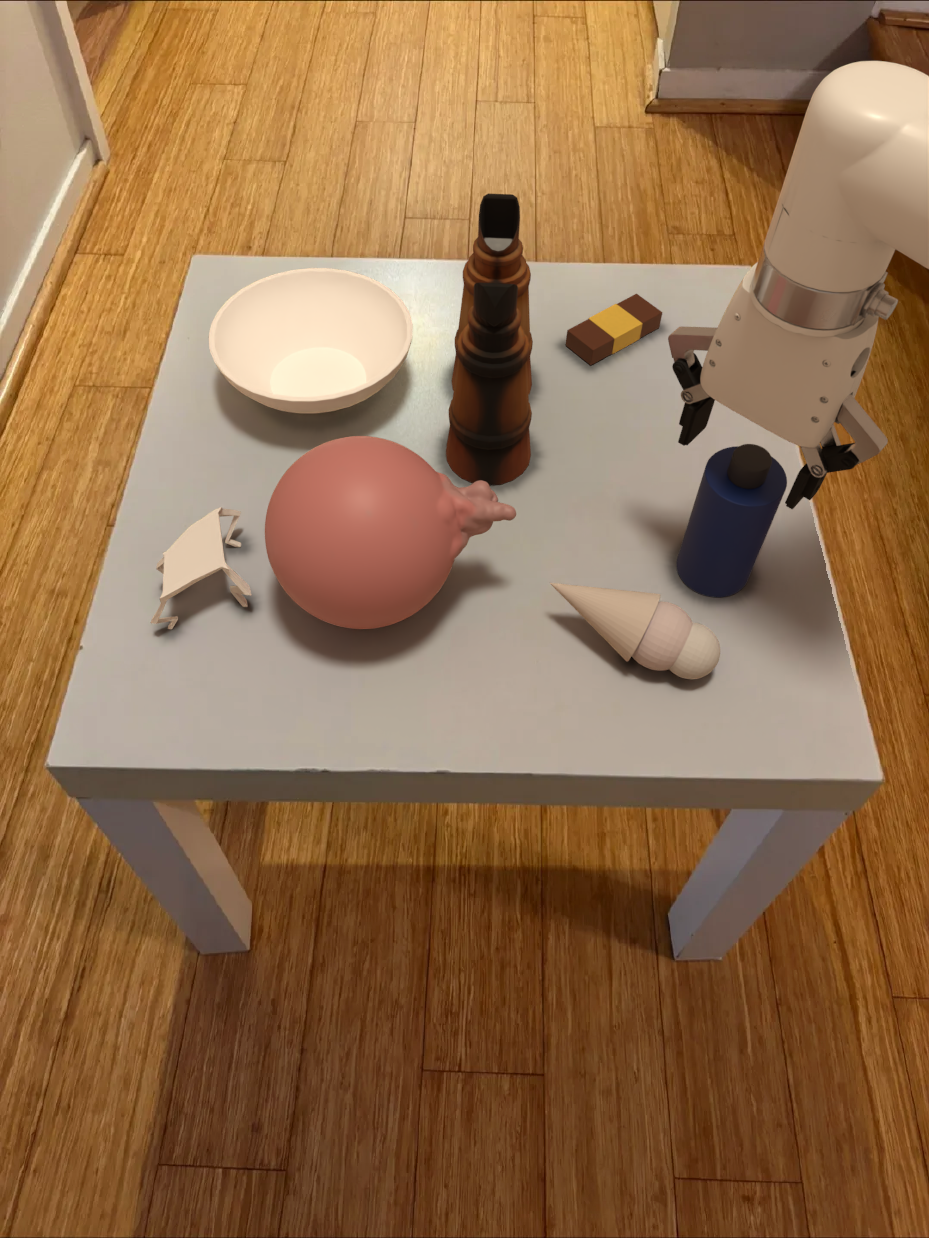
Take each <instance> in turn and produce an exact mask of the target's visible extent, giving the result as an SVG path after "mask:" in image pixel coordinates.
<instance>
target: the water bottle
mask: <svg viewBox="0 0 929 1238" xmlns="http://www.w3.org/2000/svg"><path fill="white" fill-rule="evenodd" d="M787 487H788V478H787V474H786V471H785V469H784V468H783V465H781V464H780V462H779V461H778V460H777V459H775V458H774V457H773V456H772V454H771V453H770V452H769V451H768V450H767V449H766V448H764V447H763V446H761V445H758V444H754V443H744V444H741V445H737V446H729V447H725V448H722V449H720V450H718V451H716V452H715V453H713V454H712V455H711V456H710V457H709V458H708V460H707V462H706V464H705V467H704V470H703V473H702V477H701V480H700V483H699V486H698V490H697V492H696V496H695V500H694V503H693V505H692V509H691V512H690V515H689V518H688V521H687V525H686V528H685V531H684V534H683V539H682V541H681V544H680V548H679V551H678V553H677V557H676V561H675V562H676V563H675V564H676V566H675V567H676V571H677V574H678V576H679V578H680V579H681V581H682V582H683V583H684V585H685V586H686V587H688V588H689V589H690V590H692V591H694V592H695V593H697V594H699V595H702V596H705V597H710V598H726V597H731V596H733V595H736V594H737V593H739V592H740V591H742V589H743V588H744V587H745V586H746V585H747V583H748V581H749V579H750V576H751V574H752V571H753V569H754V566H755V564H756V561H757V560H758V557H759V554H760V552H761V550H762V547H763V544H764V543H765V541H766V537H767V535H768V533H769V530H770V528H771V526H772V524H773V521H774V518H775V517H776V514H777V511H778V509H779V507H780V504H781V502H782V499H783V497H784V495H785V492H786V489H787Z"/></svg>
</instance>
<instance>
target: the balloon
mask: <svg viewBox="0 0 929 1238" xmlns="http://www.w3.org/2000/svg"><path fill="white" fill-rule="evenodd" d="M490 486H491V485H489V484H488V483H487V482H485V481H482V480H479V481H476V482H474V483H471V484H470V485H468V486H460V487H459V486H456V485H455V484H453V482H452V481H451V479H450V478H449V476H447V475H446V474H444V473H442V472H438V471H436V470H435V469H434V467H432V465H431V464H430V463H429V462H428V461H426V460H425V459H424V458H422V456H420V455H419V454H418V453H417V452H415V451H414V450H412V449H410V448H408V447H407V446H404V445H402V444H400V443H398V442H395V441H392V440H389V439H387V438H381V437H376V436H371V435H353V436H344V437H340V438H335V439H332V440H329V441H326V442H323V443H321V444H319V445H317V446H315V447H313V448H311V449H309V450H308V451H307V452H305V453H303V454H302V455H301V456H300V457H299V458H298V459H296V460H295V461H294V462H293V463H292V464H291V465H290V466H289V467H288V468H287V470H286V471H284V474H283V475H282V476H281V477H280V478H279V480H278V482H277V484H276V485H275V488H274V489H273V491H272V494H271V496H270V500H269V501H268V505H267V509H266V514H265V520H264V521H265V522H264V544H265V550H266V554H267V558H268V561H269V564H270V567H271V569H272V572H273V574H274V576H275V578H276V579H277V582H278V583H279V585H280V586H281V587H282V589H283V590H284V592H285V593H286V594H287V596H289V597H290V599H291V600H292V601H293V602H294V603H295V604H296V605H298V606H299V607H300V608H301V609H303V610H304V611H305V612H307V613H308V614H310V615H311V616H313V617H315V618H316V619H319V620H320V621H322V622H325V623H328V624H331V625H334V626H336V627H340V628H346V629H353V630H372V629H379V628H384V627H388V626H391V625H394V624H397V623H399V622H402V621H404V620H406V619H408V618H410V617H411V616H413V615H415V614H417V613H418V612H419V611H420V610H422V609H423V608H424V607H425V606H427V605H428V604H429V603H430V602H431V601H432V600H433V599H434V597H435V596H436V595H437V594H438V593H439V592H440V590H441V589H442V587H443V586H444V584H445V582H446V581H447V579H448V577H449V575H450V573H451V570H452V569H453V565H454V562H455V559H456V558H458V556H460V554H461V553H462V551H463V550H464V549H465V548H466V546H467V545H468V543H469V540H470V538H472V537H474V536H478V535H483V534H485V533H487V532H488V531H490V529H491V528H492V527H493V524H494V522H502V521H513V520H514V519H515V518H516V517H517V511H516V508H515V507H514V506H512V505H510V504H507V503H505V502H501V501H499V498H498V496H497V494H496V492H495V491H494V490H493V489H492V488H491V487H490Z"/></svg>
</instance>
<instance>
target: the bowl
mask: <svg viewBox="0 0 929 1238" xmlns="http://www.w3.org/2000/svg"><path fill="white" fill-rule="evenodd" d="M413 329H414V324H413V320H412V316H411V313H410V311H409V309H408V308H407V305H406V304H405V302H404V301H403V300H402V298H401V297H400V296H398V294H396V293H395V291H393V290H392V289H391V288H389V287H388V286H386V285H385V284H384V283H382V282H380V281H378V280H377V279H376V280H375V279H373V278H372V277H369V276H367V275H364V274H362V273H361V274H360V273H358V272H354V271H350V270H345V269H339V268H338V269H337V268H331V267H308V268H299V269H291V270H286V271H282V272H278V273H274V274H271V275H268V276H266V277H263V278H260V279H258V280H255V281H253V282H252V283H250V284H248V285H245V286H244V287H242V288H241V289H239V290H238V291H237V292H235V293H234V294H233V295H232V296H230V297H229V298H228V299H226V301H225V302H224V303H223V305H222V306H221V307H220V308H219V309H218V310H217V312H216V314H215V316H214V317H213V320H212V321H211V323H210V328H209V333H208V348H209V352H210V354H211V356H212V360H213V362H214V364H215V365H216V367H217V369H218V370H219V372H220V373H221V374H222V375H223V377H224V378H225V380H226V381H228V383H229V384H230V386H232V387H234V388H235V389H236V390H237V391H238V392H240V393H241V394H242V395H244V396H246V397H247V398H250V399H252V400H253V401H255V402H257V403H259V404H261V405H263V406H264V407H268V408H271V409H273V410H274V409H275V410H277V411H281V412H288V413H293V414H322V413H330V412H335V411H339V410H343V409H346V408H349V407H352V406H355V405H357V404H359V403H361V402H364V401H366V400H367V399H368V398H371V397H372V396H374V395H376V393H378V392H379V391H381V390H382V389H383V388H384V387H385V386H386V385H387V384H388V383H389V382H390V381H391V380H392V379H393V378H394V377H396V375H397V374H398V372H399V371H400V370H401V368H402V367H403V365H404V363H405V361H406V359H407V357H408V353H409V351H410V348H411V345H412V343H413V342H412V341H413V333H414V330H413Z"/></svg>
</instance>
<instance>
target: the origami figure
mask: <svg viewBox="0 0 929 1238" xmlns="http://www.w3.org/2000/svg"><path fill="white" fill-rule="evenodd" d="M241 513H242V511H240V510H236V509H230V508H223V507H222V506H220V507H218V508H215V509H214V510H212V511H210V512H209V513H207V514H206V515H204V516H203V517H201V518H200V519H198V520H196V521H195V522H194V523H192V524H191V525H189V526H188V527H187V529H185V530H184V531H183V532H182V534H181V535H180V536H179V537H178V538H177V539H176V540H175V541H174V542H173V543H172V545H170V546H169V548H168V549H167V550H166V551H164V552H162V556H163V557H162V558H161V559H160V560H158V562H157V563H156V568H155V569H156V570H157V571H158V572H159V573H161V574H162V592H161V594H160V597H159V601H160V603H159V606H158V609H157V610H156V612H155V613H154V614H153V616H152V618H151V621H150V624H154V625H155V624H156V625H158V624H163V623H169V624H168V626H167V630H173V628H174V626H175V625H176V624H177V622H178V620H179V615H175V616H173V615H172V616H166V617H161V615H162V613H163V611H164V608H165V606H166V604H167V601H168V600H170V599H171V598H173V597H175V596H176V595H178V594H180V593H181V592H183V591H185V590H187V588H190V587H191V586H192V585H194V584H196V583H197V582H199V581H201V580H203V579H206V578H207V577H209V576H211V575H213V574H215V573H217V572H219V571H221V570H222V571H223V572H224V573H225V574H226V575H227V577H228V578H229V579H230V580H231V581H232V582H233V584H235V585H230V586H229V591H230V593H231V594H232V595H233V597H234V598H235V600H237V602H239V604H240V605H241V606H242V608H248V607H249V606H248V600H247V599H246V597H245V596H252V591H251V587H250V585H249V584H248V583H247V581H245V580H244V579H243V578H242V577H241V576H240V575H239V574H238V573H236V572H235V570H233V569H232V567H230V565H228V564H227V563H226V560H225V550H224V543H225V544H228V545H230V546H232V547H235V548H241V547H242V542H240V541H238V540H235V539H231V538H232V535H233V532H234V530H235V528H236V526H237V524H238V521H239V519H240V517H241ZM220 517H232V520H231V523H230V525H229V528H228V531H227V534H226V537H225V542H224V543H223V535H222V528H221V520H220Z"/></svg>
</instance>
